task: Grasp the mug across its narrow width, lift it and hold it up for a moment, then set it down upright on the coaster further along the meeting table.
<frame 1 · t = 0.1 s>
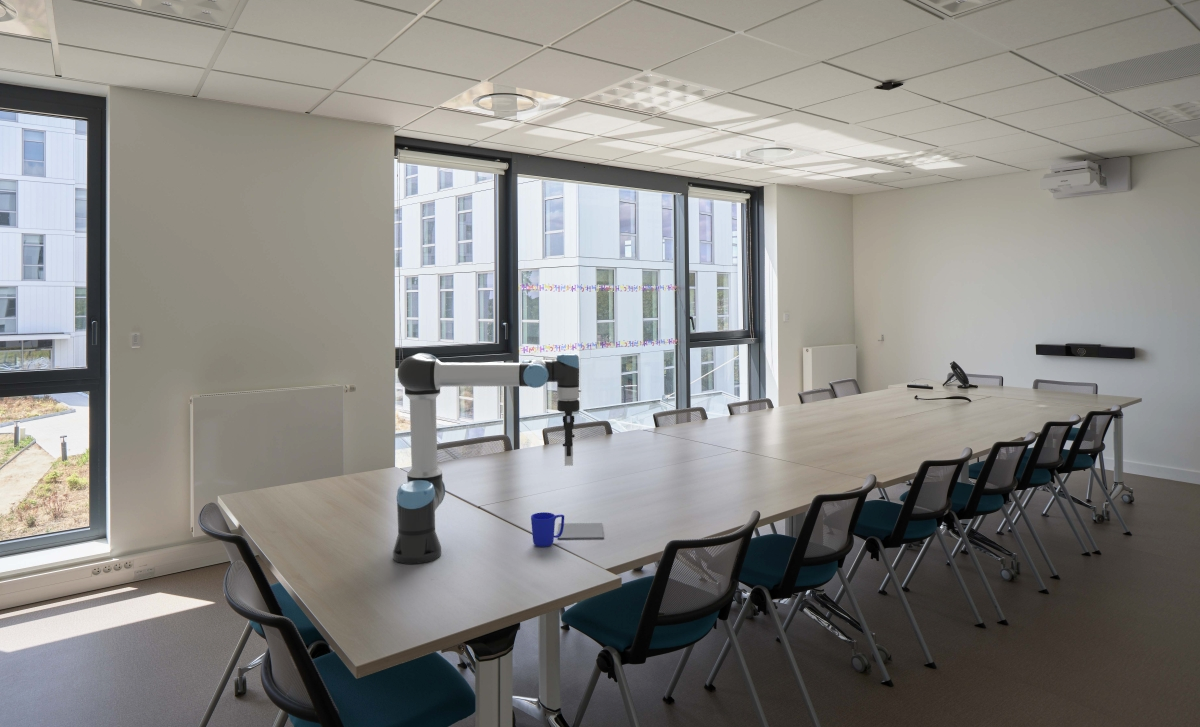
hand: (568, 460, 239), 28 cm above the table, fingers open, 13 cm apart
coaster: (580, 531, 250), on the table
mug: (548, 544, 238), on the table
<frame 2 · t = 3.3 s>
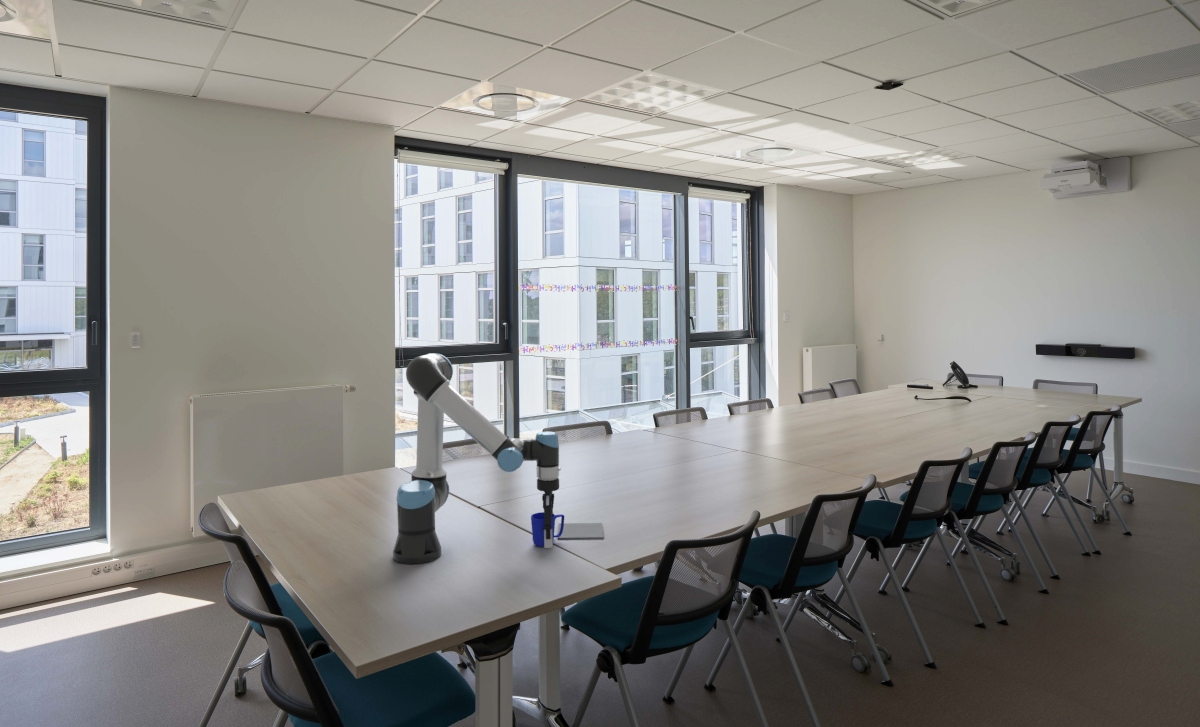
hand: (548, 542, 238), 0 cm above the table, fingers open, 9 cm apart
mug: (548, 544, 238), on the table, touching gripper
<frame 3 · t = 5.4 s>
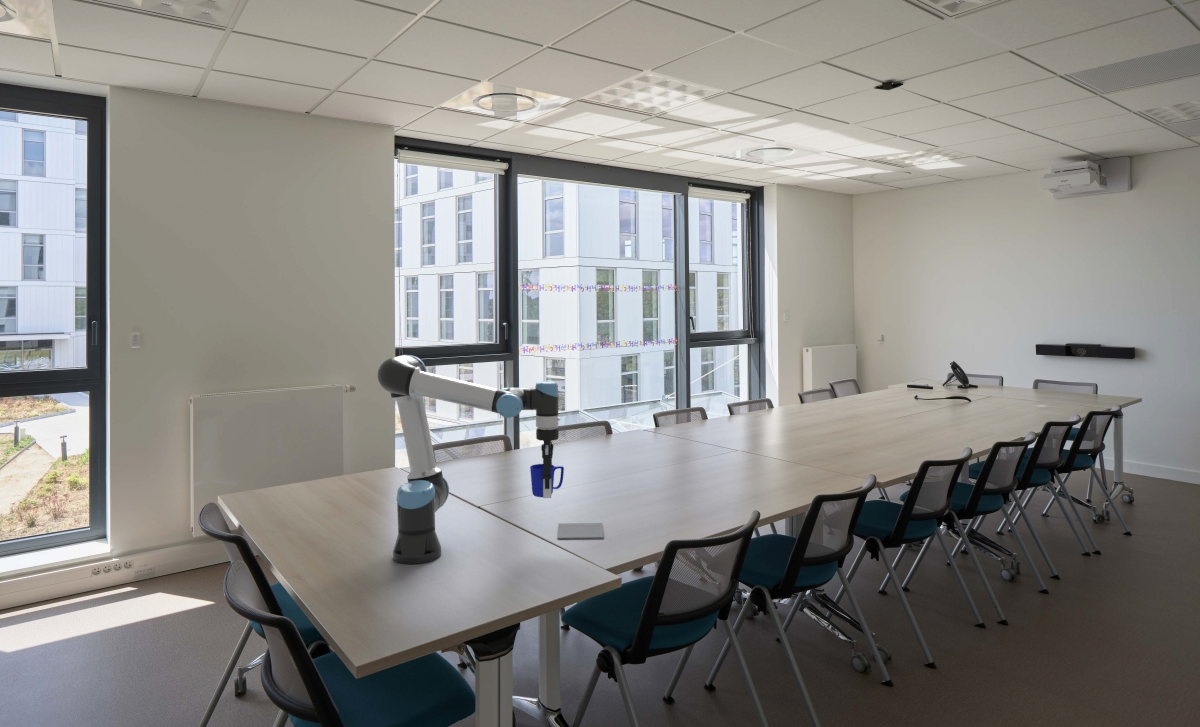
hand: (547, 494, 237), 17 cm above the table, fingers closed on mug, 7 cm apart
mug: (547, 495, 238), point 16 cm above the table, touching gripper
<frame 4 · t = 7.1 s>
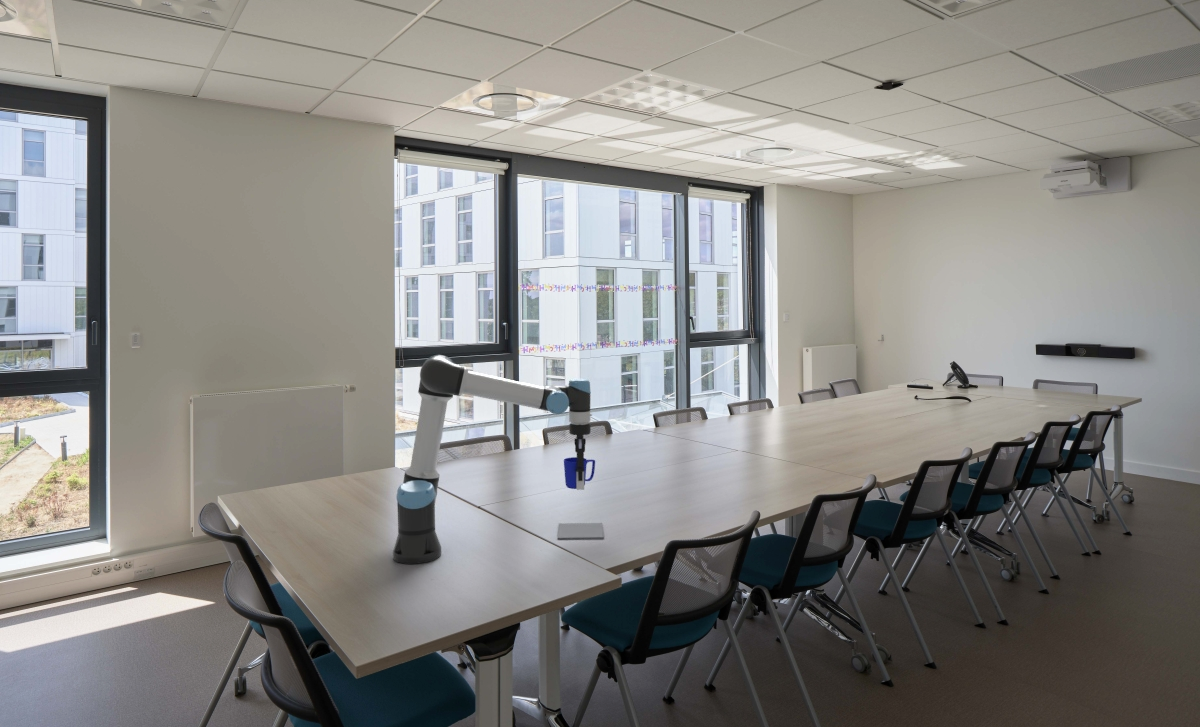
hand: (580, 486, 249), 17 cm above the table, fingers closed on mug, 7 cm apart
mug: (580, 487, 250), point 16 cm above the table, touching gripper
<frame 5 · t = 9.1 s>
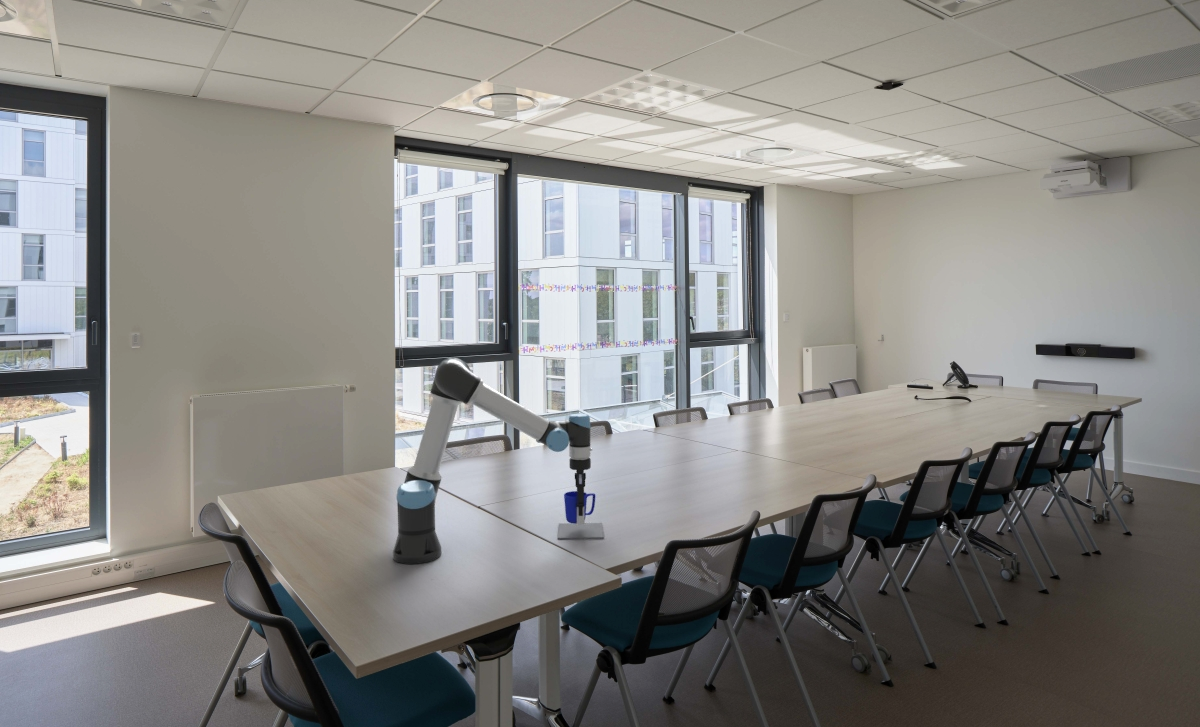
hand: (580, 520, 250), 4 cm above the table, fingers closed on mug, 7 cm apart
mug: (580, 521, 251), point 4 cm above the table, touching gripper
when the fingers open (2 cm above the table, at t = 10.5 s): mug stays where it is, resting on coaster.
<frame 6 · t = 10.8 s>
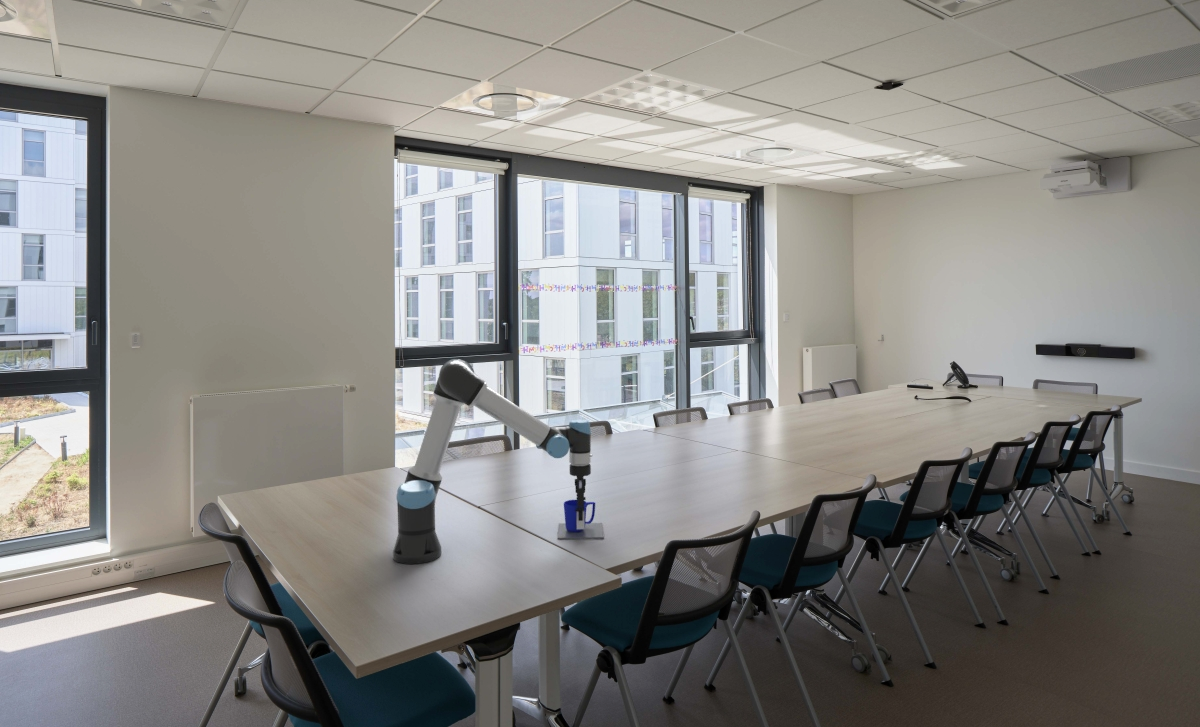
hand: (580, 523, 250), 3 cm above the table, fingers open, 11 cm apart
mug: (580, 529, 251), resting on coaster
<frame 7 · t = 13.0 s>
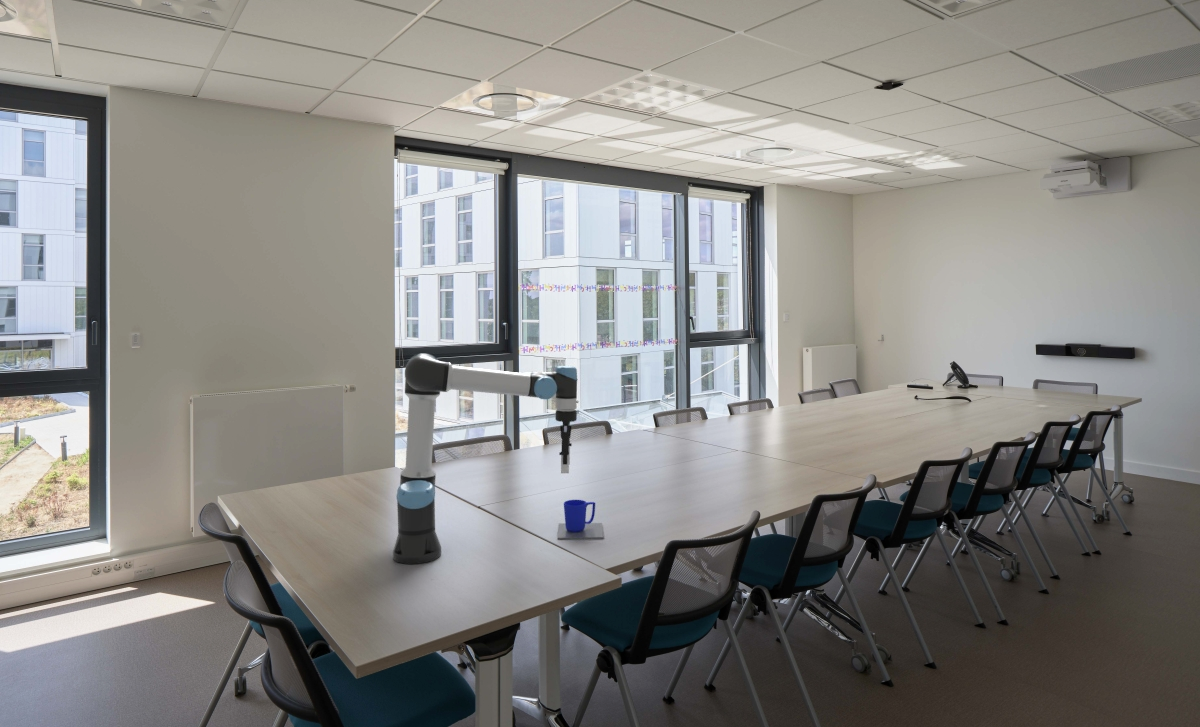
hand: (565, 468, 250), 23 cm above the table, fingers open, 13 cm apart
nothing on the table moved.
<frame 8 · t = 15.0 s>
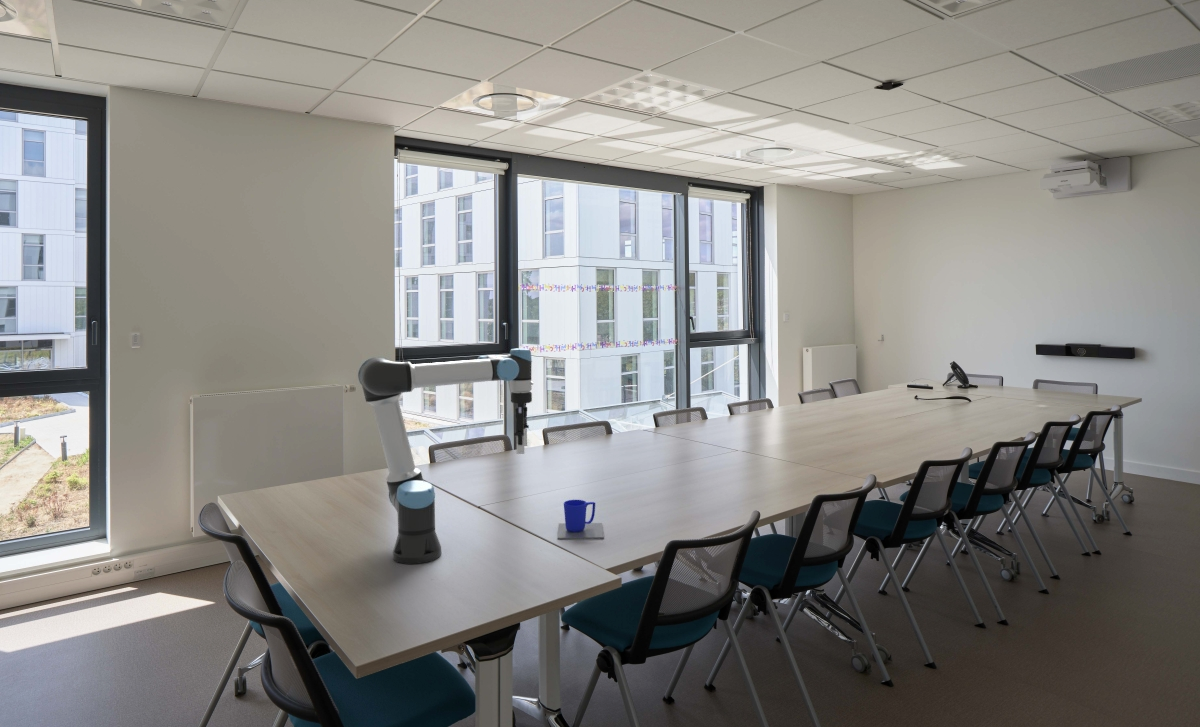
hand: (521, 449, 253), 29 cm above the table, fingers open, 13 cm apart
nothing on the table moved.
at the end: mug inside the target area on the coaster (1.0 cm from its centre), point 0.4 cm above the coaster's base; mug touching coaster; mug tilted 0° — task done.
